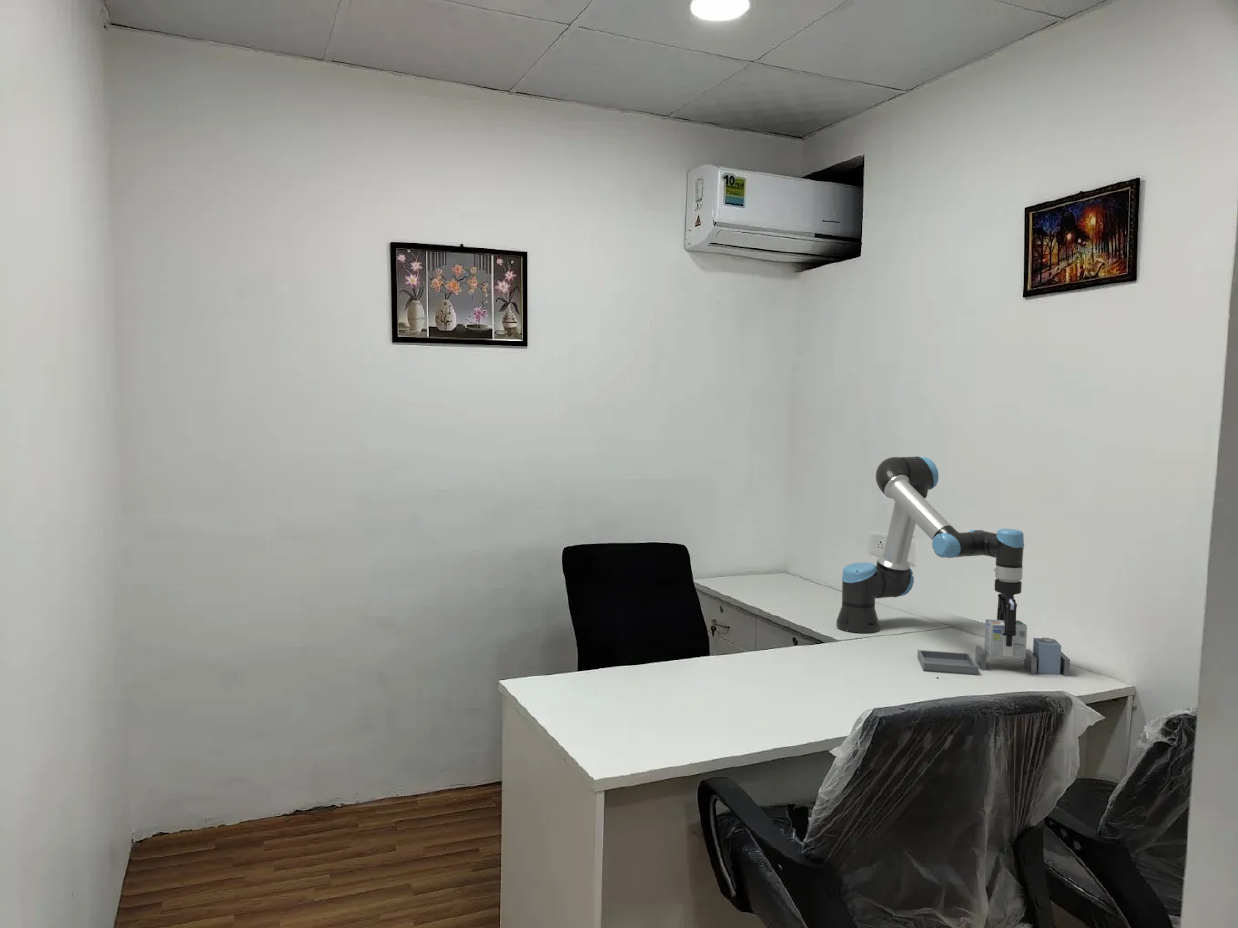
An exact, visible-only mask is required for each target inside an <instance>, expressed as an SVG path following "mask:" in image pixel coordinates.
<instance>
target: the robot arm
mask: <svg viewBox="0 0 1238 928" xmlns="http://www.w3.org/2000/svg"><path fill="white" fill-rule="evenodd" d="M875 471H876V472H875V481H876V484H877V487H878V488H879V490H880V492H882V493H883V494H884V496H885V497H887V498H888V499H893V501H894V506H893V509H892V514H891V518H890V523H889V527H888V532H887V535H886V540H885V544H884V549H883V550H884V551H883V554H882V555H880V556H879V557H877V561H876V564H874V563H872V562H855V563H850V564H847V565H846V566H844V568H843V570H842V576H841V580H842V581H841V582H842V584H841V585H842V591H841V592H842V593H841V608H840V609H839V613H838V616H837V619H836V626H837V627H838V628H837V627H836V628H837V629H839V628H840V630H841V629H842V630H841V631H844V630H848V631H852V632H851V633H855V632H858V633H857V634H871V633H877V632H879V631H880V621H879V617H878V615H877V610H876V599H885V598H899V597H904V596H906V595H908V594H909V593H910V591H911V590H912V589H913V586H914V582H915V577H914V572H913V570H912V569H911V565H910V563H909V561H908V558H909V555H910V554H909V553H910V551H911V550H910V549H911V545H912V541H913V537H914V532H915V529H916V525H917V526H918V527H919V528H920V529H921V530H922V531H923V533H925V534H926V536H928V537H929V539H931V541H932V543H931V546H932V549H933V553H934V554H935V555H936V556H937V557H939V558H948V559H952V558H963V557H977V556H980V557H981V556H987V557H990V558H995V567H994V568H993V571H994V572H995V574H994V576H995V580H994V591H995V592H997V593H998V595H997V597H998V598H997V612H996V620H1004V625H1005V633H1002V635H1003V636H1004V637H1003V656H1008V657H1013V640H1014V636H1016V620H1017V607H1018V604H1017V603H1016V599H1015V595H1020V594H1021V593H1022V586H1023V585H1022V580H1023V561H1024V560H1023V558H1024V547H1025V541H1024V538H1025V537H1024V535H1025V534H1024V533H1023V531H1022V530H1021V529H1020V530H1019V529H1011V528H1000V529H998V530H997V533H995V532H990V531H986V530H982V529H971V530H969V531H968V532H967V531H966V532H958V531H957V530H956V528H954V527H953V525H951V524H950V522H949V521H947V520H946V519H945V517H944V516H943V515H941V514H940V513H939V512H938V511H937V510H936V509H935V507H934V506H933V505H931V504H930V502H929V501H928V500H927V499H926V498H927V497H928V492H929V491H930V490H932V489H934V488H935V487H936V486H937V484H938V482H939V470H938V468H937V466H936V464H935V462H934V461H933V460H932V459H931V458H928V457H926V456H918V455H917V456H892V457H888V458H886V459H884V460H883V461H881V463H879V465H878V466H877V468H876V470H875ZM848 631H847V632H848Z"/></svg>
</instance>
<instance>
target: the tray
mask: <svg viewBox="0 0 1238 928" xmlns="http://www.w3.org/2000/svg"><path fill="white" fill-rule="evenodd" d="M916 657H917V660H918V662H919V665H920V666H921V669H922V671H923V672H928V673H929V672H930V673H944V674H945V673H946V674H955V675H957V674H958V675H959V674H960V675H971V676H979V666H978V665H977V663H976V662H975V659H974V658H973V657H972V655H971V653H966V652H954V651H953V652H952V651H951V652H950V651H941V650H940V651H938V650H926V649H925V650H921V649H917V656H916Z"/></svg>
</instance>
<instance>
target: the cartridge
mask: <svg viewBox="0 0 1238 928" xmlns="http://www.w3.org/2000/svg"><path fill="white" fill-rule="evenodd" d="M1032 646H1033V647H1032V653H1033V654H1034V655H1035V656H1036V657H1037V667H1036V673H1038V674H1045V675H1061V672H1060V661H1061V652H1062V645H1061V644H1060V643H1059V642H1058V641H1057V639H1056V638H1055V639H1054V638H1051V637H1050V638H1049V637H1040V638H1039V637H1033V645H1032Z"/></svg>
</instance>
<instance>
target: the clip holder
mask: <svg viewBox="0 0 1238 928" xmlns="http://www.w3.org/2000/svg"><path fill="white" fill-rule="evenodd" d="M974 653H975V655H974V656H975V658H974V661H975V663H976V664H977V666H978V669H980V670H981V671H987V656H988V655H987V654H986V653H985V649H983V647H982V646H980V645H975V652H974ZM1023 666H1024V668H1025V669H1027V671H1028V672H1029V673H1030V674H1034V675H1036V674H1037V671H1036V667H1037V657H1036V656H1035V655H1034V654H1033V651H1031V650H1030V649H1029V648H1028V649H1027V648H1026V659H1023ZM1070 667H1071V659H1070V658H1069V657H1068V656H1067V655H1066V654H1065V653H1064V652H1062V651H1061V661H1060V674H1061V675H1062V676H1064V677H1070V672H1071V671H1070V670H1071V668H1070Z"/></svg>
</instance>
